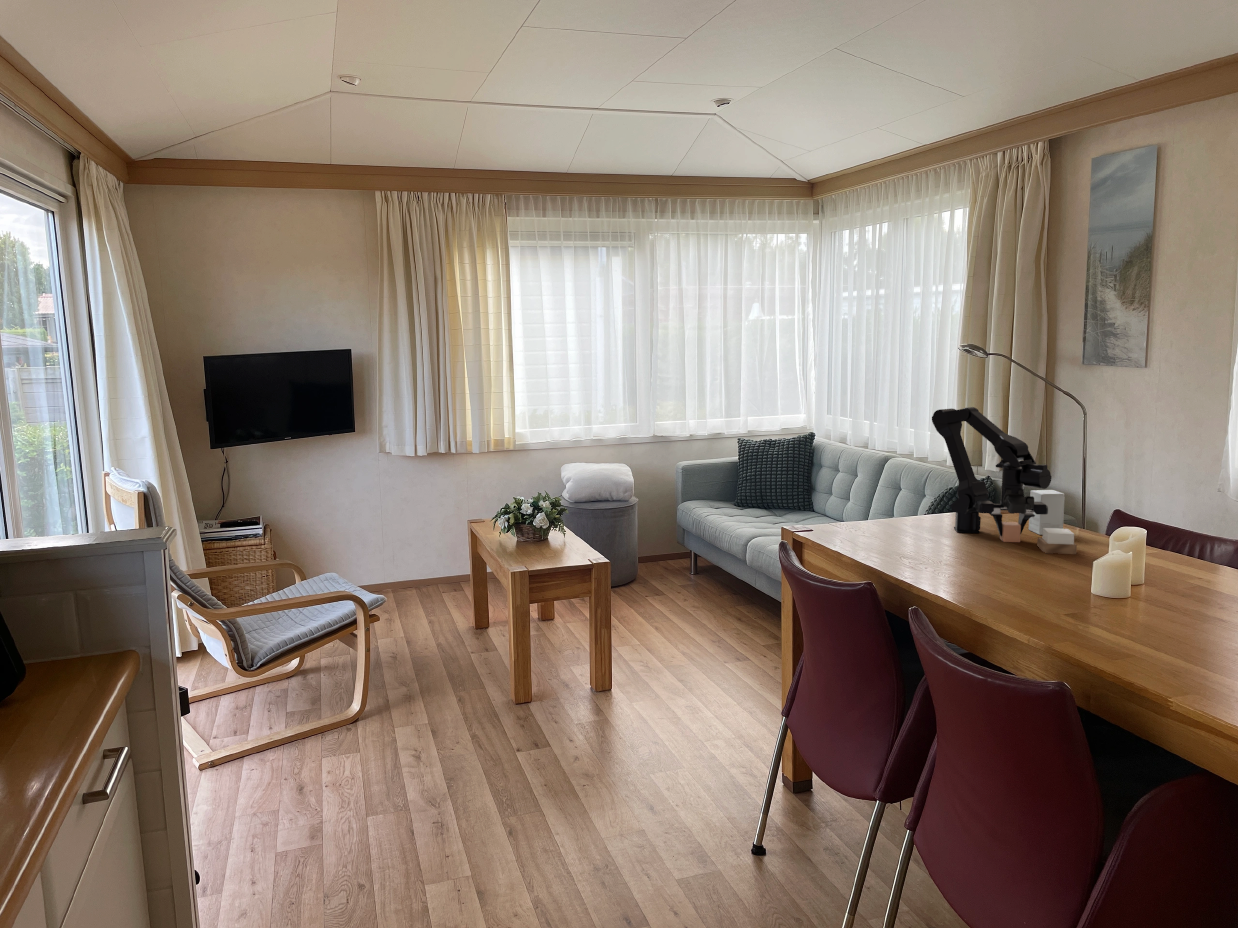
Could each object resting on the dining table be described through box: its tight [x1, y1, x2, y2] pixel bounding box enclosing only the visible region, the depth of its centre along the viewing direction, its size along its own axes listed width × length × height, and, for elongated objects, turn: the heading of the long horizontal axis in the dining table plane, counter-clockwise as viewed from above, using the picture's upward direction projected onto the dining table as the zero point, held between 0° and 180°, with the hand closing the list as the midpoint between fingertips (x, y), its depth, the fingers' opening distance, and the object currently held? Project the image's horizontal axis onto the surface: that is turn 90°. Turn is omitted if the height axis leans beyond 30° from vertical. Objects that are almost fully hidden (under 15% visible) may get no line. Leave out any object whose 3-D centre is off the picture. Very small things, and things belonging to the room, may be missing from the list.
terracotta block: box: [999, 521, 1022, 543], centre depth 254 cm, size 5×5×5 cm
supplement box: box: [1028, 489, 1066, 536], centre depth 262 cm, size 7×7×13 cm
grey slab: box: [1041, 528, 1075, 545], centre depth 241 cm, size 6×6×3 cm
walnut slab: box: [1036, 537, 1078, 555], centre depth 242 cm, size 8×8×3 cm
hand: (1009, 536), depth 254 cm, fingers closed on terracotta block, 5 cm apart
